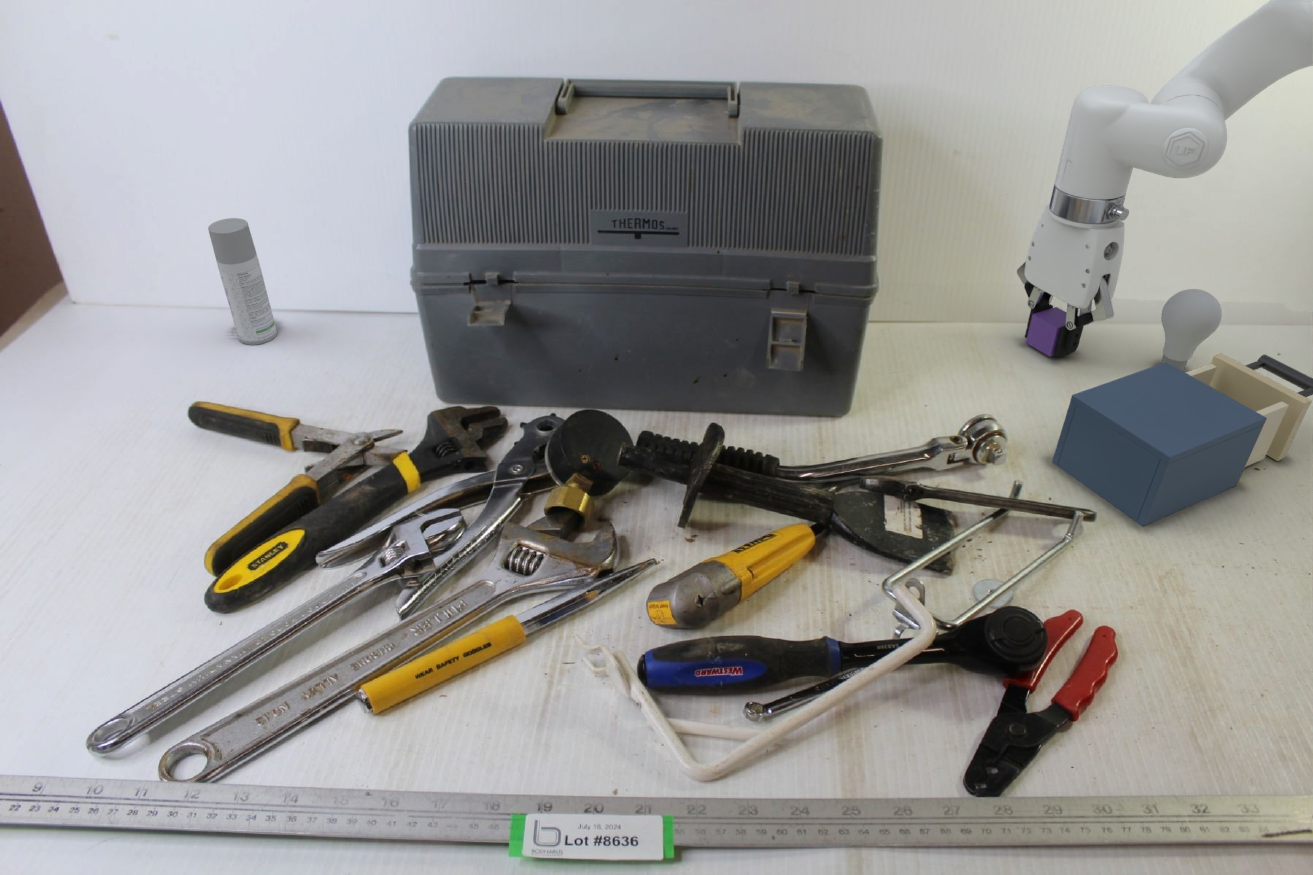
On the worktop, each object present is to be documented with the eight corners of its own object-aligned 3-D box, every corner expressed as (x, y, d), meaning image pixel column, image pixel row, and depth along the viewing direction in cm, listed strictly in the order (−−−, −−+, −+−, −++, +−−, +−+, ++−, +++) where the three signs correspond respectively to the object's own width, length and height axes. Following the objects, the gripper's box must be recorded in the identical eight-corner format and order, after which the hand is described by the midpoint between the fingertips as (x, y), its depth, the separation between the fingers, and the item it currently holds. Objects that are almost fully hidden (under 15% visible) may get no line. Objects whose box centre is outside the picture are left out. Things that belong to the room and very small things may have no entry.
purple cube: (1049, 334, 122) (1056, 306, 119) (1073, 349, 119) (1081, 320, 116) (1025, 342, 120) (1032, 314, 118) (1049, 357, 117) (1057, 328, 115)
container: (231, 336, 123) (199, 226, 115) (264, 323, 126) (235, 214, 118) (251, 349, 121) (220, 237, 112) (284, 334, 124) (256, 224, 115)
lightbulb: (1204, 389, 114) (1237, 306, 107) (1149, 385, 114) (1178, 302, 108) (1189, 362, 119) (1220, 281, 112) (1136, 358, 119) (1164, 277, 113)
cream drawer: (1232, 395, 111) (1255, 340, 107) (1318, 443, 104) (1347, 386, 99) (1120, 438, 104) (1140, 381, 100) (1204, 493, 97) (1229, 434, 92)
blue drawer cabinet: (1140, 432, 107) (1166, 361, 101) (1234, 491, 98) (1267, 417, 93) (1049, 467, 102) (1071, 394, 96) (1140, 532, 93) (1170, 457, 88)
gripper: (1172, 222, 104) (1126, 368, 115) (1053, 174, 116) (1022, 309, 127) (1122, 237, 101) (1080, 384, 112) (1006, 185, 113) (978, 323, 124)
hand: (1050, 343), depth 119 cm, fingers closed on purple cube, 4 cm apart
